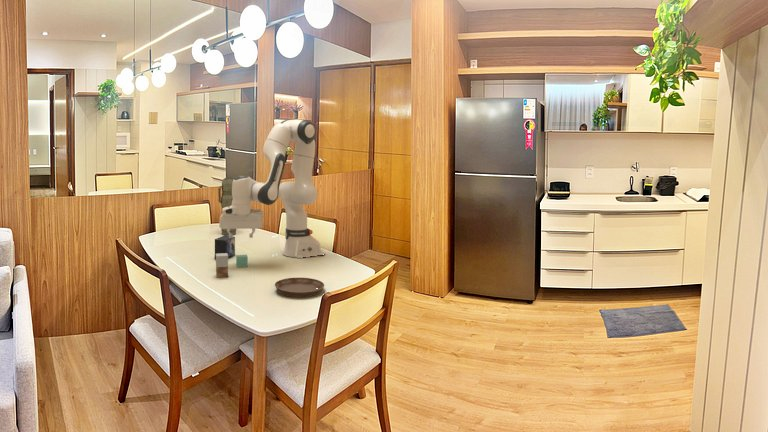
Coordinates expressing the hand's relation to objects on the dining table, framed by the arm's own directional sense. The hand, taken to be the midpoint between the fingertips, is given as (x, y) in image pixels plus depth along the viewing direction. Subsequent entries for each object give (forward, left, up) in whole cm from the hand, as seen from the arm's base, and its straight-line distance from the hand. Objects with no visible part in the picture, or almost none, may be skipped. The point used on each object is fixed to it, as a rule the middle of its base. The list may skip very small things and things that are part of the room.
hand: (241, 237), depth 250 cm
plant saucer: (-20, +45, -15) cm, 51 cm away
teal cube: (0, 0, -14) cm, 14 cm away
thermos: (+2, -76, -14) cm, 78 cm away
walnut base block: (+10, +16, -14) cm, 23 cm away
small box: (+7, -18, -14) cm, 24 cm away
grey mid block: (+10, +16, -9) cm, 21 cm away
